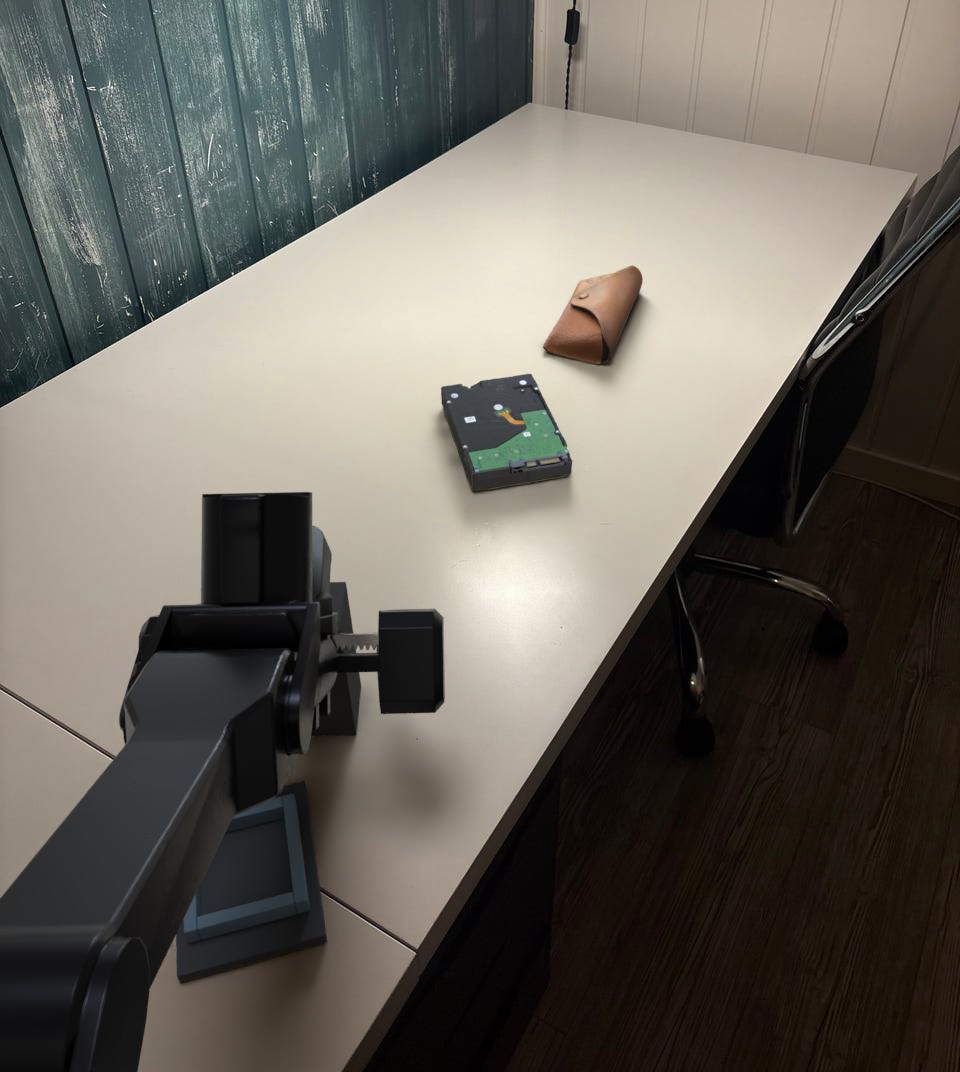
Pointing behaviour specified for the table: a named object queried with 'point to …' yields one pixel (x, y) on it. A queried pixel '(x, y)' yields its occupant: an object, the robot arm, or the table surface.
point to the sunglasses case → (595, 317)
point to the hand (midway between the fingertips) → (316, 646)
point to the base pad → (256, 891)
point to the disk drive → (505, 432)
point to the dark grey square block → (342, 678)
